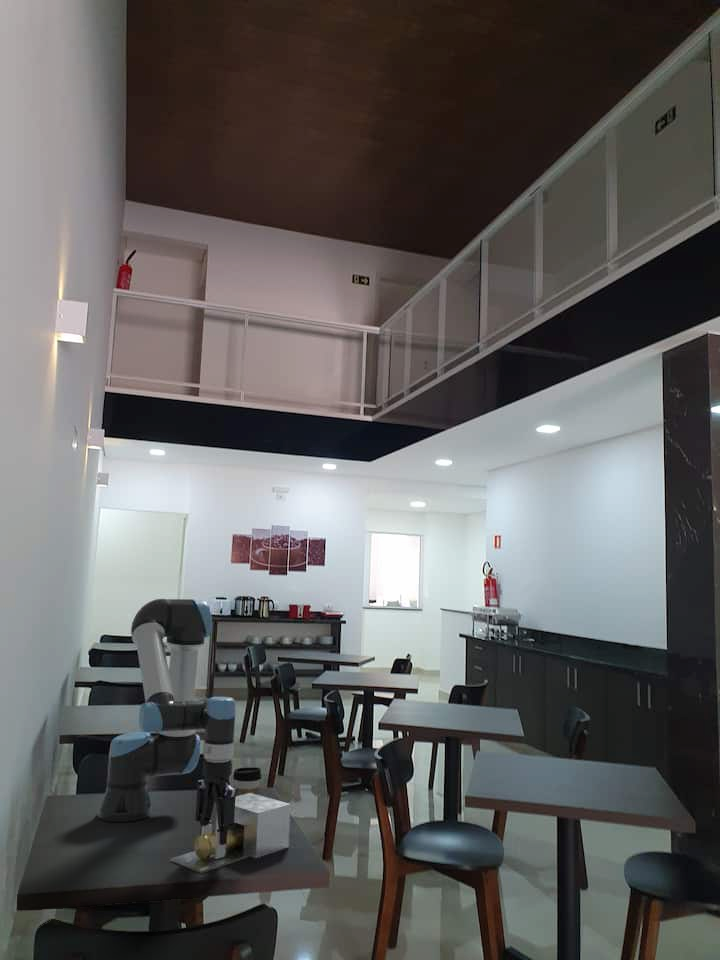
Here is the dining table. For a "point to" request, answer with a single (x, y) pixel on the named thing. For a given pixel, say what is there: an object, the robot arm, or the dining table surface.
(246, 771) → the coffee cup
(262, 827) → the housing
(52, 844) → the dining table surface
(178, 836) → the dining table surface
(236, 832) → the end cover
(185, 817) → the dining table surface
